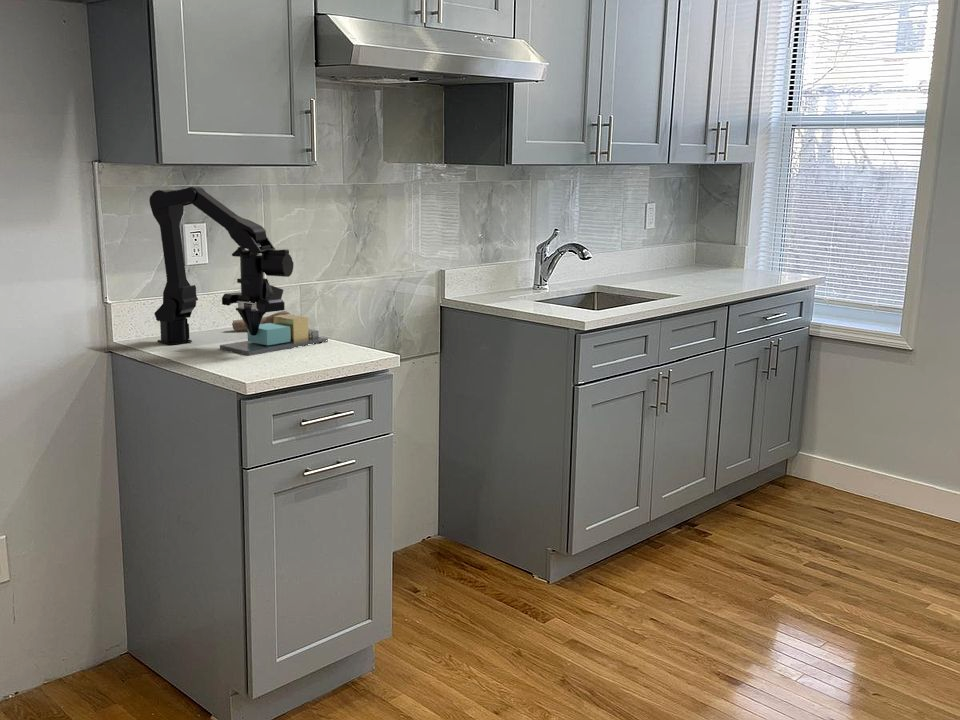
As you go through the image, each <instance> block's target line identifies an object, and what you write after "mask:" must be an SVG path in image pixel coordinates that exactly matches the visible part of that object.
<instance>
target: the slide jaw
mask: <svg viewBox="0 0 960 720" xmlns="http://www.w3.org/2000/svg"><path fill="white" fill-rule="evenodd" d="M246 332H247V341H249V342H253V343H258V344H263V345H273V344H279V343H285V342H290V339H291V337H290V326H284V325H279V324H274V323H266V324H260V325H259V328H258V331H257V335H255V336H252V335H251V334H250V332H249V330H248V328H247V331H246Z"/></svg>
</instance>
